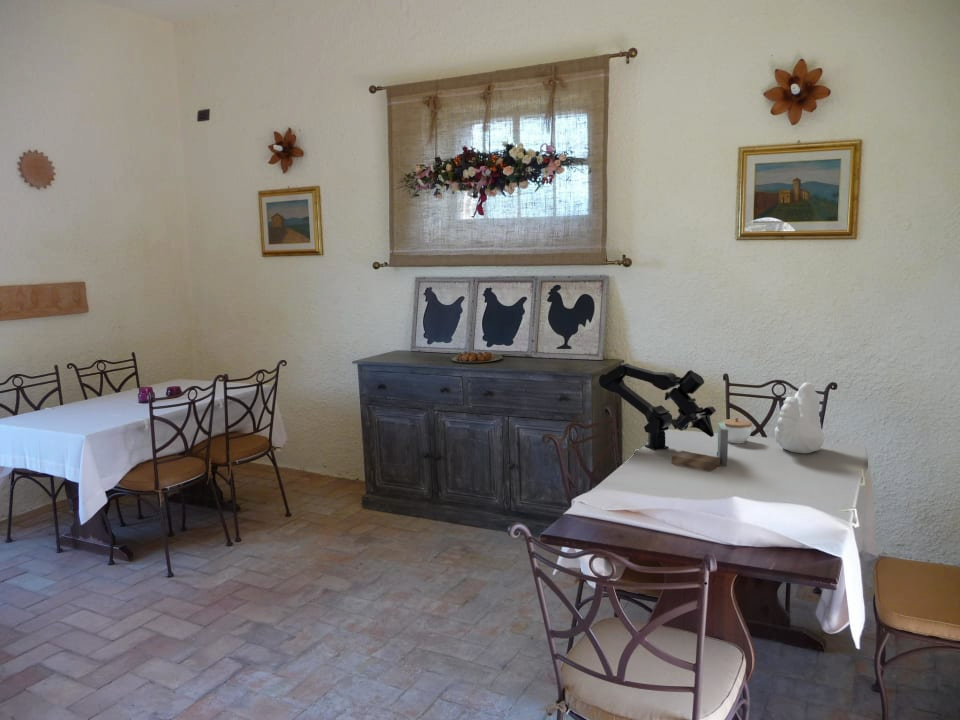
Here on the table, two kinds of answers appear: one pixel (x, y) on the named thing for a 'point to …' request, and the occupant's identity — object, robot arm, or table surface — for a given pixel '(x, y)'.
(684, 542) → the table surface
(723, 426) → the green rectangular panel
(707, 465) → the stool seat
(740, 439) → the lidded jar
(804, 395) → the decorative rooster
